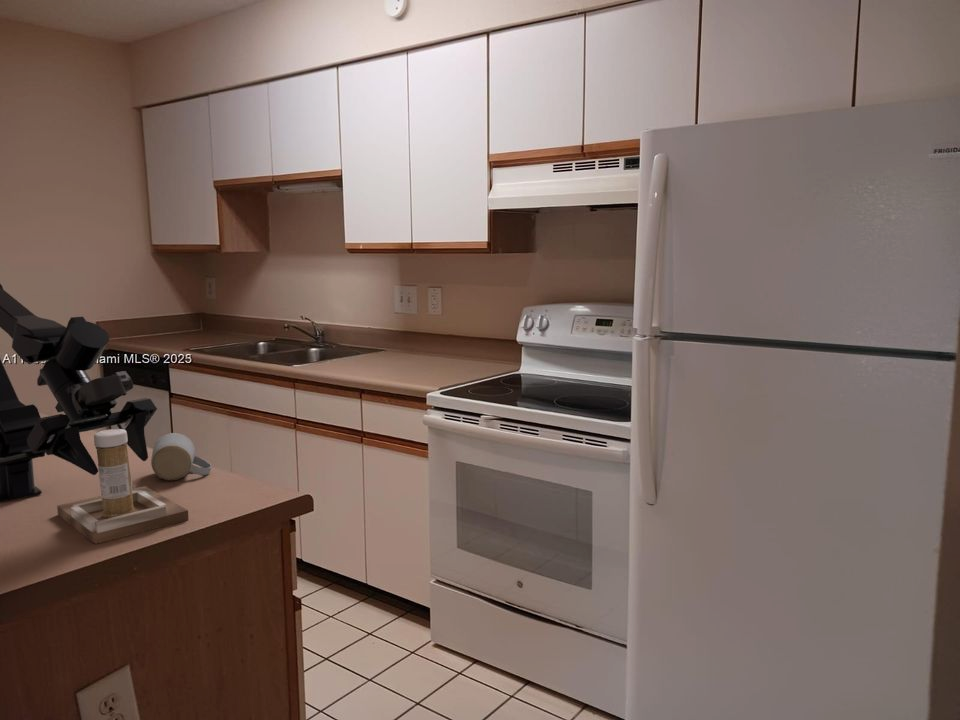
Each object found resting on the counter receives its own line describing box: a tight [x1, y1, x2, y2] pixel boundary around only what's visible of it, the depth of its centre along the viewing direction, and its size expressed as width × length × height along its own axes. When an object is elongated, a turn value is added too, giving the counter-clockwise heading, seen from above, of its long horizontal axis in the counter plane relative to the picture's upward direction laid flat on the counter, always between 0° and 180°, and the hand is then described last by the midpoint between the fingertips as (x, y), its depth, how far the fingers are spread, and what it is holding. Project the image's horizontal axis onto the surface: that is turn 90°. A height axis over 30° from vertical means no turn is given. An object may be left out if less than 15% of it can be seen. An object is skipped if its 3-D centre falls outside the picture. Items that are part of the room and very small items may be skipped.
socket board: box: [56, 485, 189, 545], centre depth 116 cm, size 17×14×3 cm
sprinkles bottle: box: [93, 428, 135, 518], centre depth 111 cm, size 5×5×13 cm
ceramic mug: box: [150, 432, 212, 481], centre depth 138 cm, size 11×8×8 cm
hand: (121, 466), depth 111 cm, fingers open, 8 cm apart
